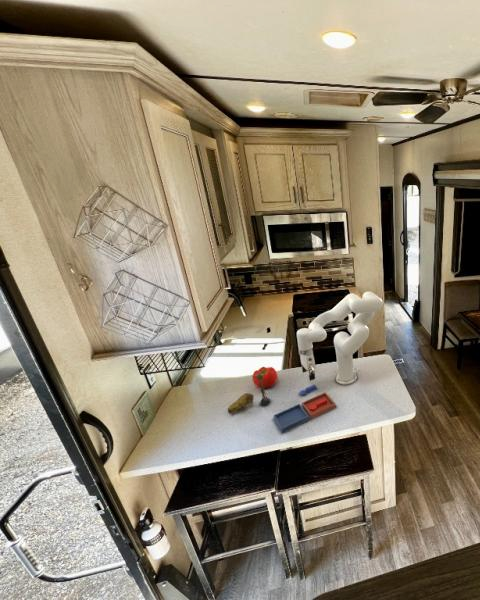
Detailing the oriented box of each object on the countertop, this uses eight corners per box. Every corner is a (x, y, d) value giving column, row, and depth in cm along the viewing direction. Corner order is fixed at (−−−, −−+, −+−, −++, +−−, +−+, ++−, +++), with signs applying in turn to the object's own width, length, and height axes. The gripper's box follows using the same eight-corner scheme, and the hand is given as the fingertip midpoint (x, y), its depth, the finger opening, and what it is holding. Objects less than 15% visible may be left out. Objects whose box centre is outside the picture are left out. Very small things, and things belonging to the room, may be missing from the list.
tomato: (280, 377, 205) (278, 363, 200) (274, 391, 193) (271, 376, 188) (258, 378, 204) (255, 364, 200) (251, 392, 192) (247, 377, 188)
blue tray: (300, 407, 180) (299, 403, 179) (309, 420, 171) (308, 416, 170) (274, 419, 172) (273, 415, 171) (282, 433, 163) (281, 429, 162)
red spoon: (325, 400, 183) (324, 397, 182) (328, 404, 181) (327, 400, 180) (309, 408, 178) (308, 404, 177) (311, 412, 175) (311, 408, 174)
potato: (230, 406, 181) (227, 394, 178) (255, 401, 185) (252, 389, 182) (228, 416, 174) (225, 404, 171) (254, 410, 178) (251, 399, 174)
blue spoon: (314, 386, 196) (314, 383, 195) (317, 389, 193) (316, 386, 192) (299, 393, 190) (298, 390, 189) (301, 396, 188) (301, 393, 187)
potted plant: (257, 406, 181) (251, 376, 173) (260, 400, 185) (253, 371, 177) (268, 405, 181) (262, 375, 173) (271, 399, 186) (264, 370, 178)
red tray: (325, 395, 188) (325, 392, 187) (335, 407, 179) (335, 403, 178) (302, 406, 180) (301, 402, 179) (311, 419, 171) (310, 415, 170)
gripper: (318, 354, 178) (321, 380, 184) (305, 341, 190) (308, 366, 197) (305, 359, 173) (308, 385, 180) (293, 345, 186) (296, 370, 193)
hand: (308, 375), depth 188 cm, fingers open, 9 cm apart
